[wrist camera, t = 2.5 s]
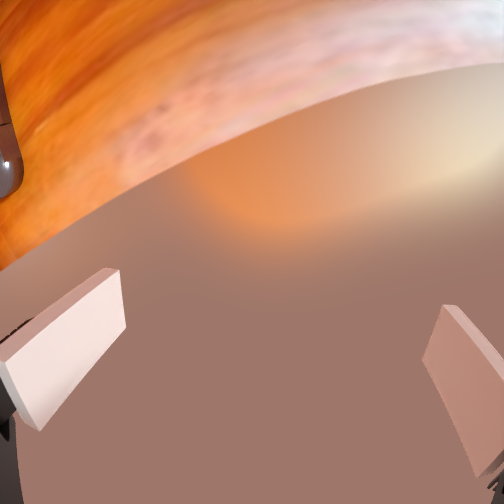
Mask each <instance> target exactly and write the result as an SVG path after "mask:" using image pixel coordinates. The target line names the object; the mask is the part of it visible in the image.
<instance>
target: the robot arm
mask: <svg viewBox="0 0 504 504" xmlns="http://www.w3.org/2000/svg"><path fill="white" fill-rule="evenodd" d="M125 328H126V324H125V317H124V309H123V301H122V293H121V284H120V272H119V270H118V269H111V268H105V267H104V268H102V269H101V270H100V271H98V272H97V273H95V274H94V275H92V276H91V277H89V278H88V279H87V280H85V281H84V282H82V283H81V284H80V285H78V286H77V287H75V288H74V289H72V290H71V291H70V292H68V293H67V294H65V295H64V296H63V297H62V298H60V299H59V300H57V301H56V302H54V303H53V304H52V305H50V306H49V307H48V308H46V309H45V310H44V311H42V312H41V313H40V314H39V315H37V316H36V317H33V318H31V319H29V320H27V321H25V322H24V323H23V324H21V325H20V326H19V327H18V328H17V329H15V330H14V331H12V332H11V333H10V335H7V336H6V337H5V338H4V339H2V340H1V341H0V504H24V502H23V497H22V491H21V484H20V477H19V469H18V460H17V448H16V432H15V431H16V430H15V420H14V417H13V415H12V414H13V413H14V412H15V411H16V410H17V411H18V413H19V415H20V417H21V418H22V420H23V422H25V423H26V424H28V425H29V426H31V427H33V428H35V429H36V430H38V431H41V429H42V428H43V427H44V426H45V424H46V423H47V422H48V421H49V419H50V418H51V417H52V416H53V414H54V413H55V412H56V410H57V409H58V408H59V407H60V405H61V404H62V403H63V402H64V400H65V399H66V398H67V397H68V396H69V394H70V393H71V392H72V391H73V389H74V388H75V387H76V385H77V384H78V383H79V382H80V381H81V380H82V378H83V377H84V376H85V375H86V374H87V372H88V371H89V370H90V369H91V367H92V366H93V365H94V364H95V363H96V362H97V361H98V359H99V358H100V357H101V356H102V354H104V352H105V351H106V350H107V349H108V348H109V346H110V345H111V344H112V343H113V342H114V341H115V340H116V338H117V337H118V336H119V335H120V334H121V332H123V330H124V329H125ZM422 361H423V363H424V365H425V367H426V369H427V371H428V372H429V374H430V376H431V378H432V380H433V382H434V384H435V386H436V388H437V390H438V392H439V394H440V396H441V398H442V400H443V402H444V404H445V406H446V408H447V410H448V413H449V415H450V417H451V419H452V421H453V423H454V426H455V428H456V430H457V432H458V435H459V437H460V439H461V441H462V444H463V446H464V449H465V451H466V453H467V455H468V458H469V461H470V463H471V466H472V468H473V471H474V474H475V476H476V478H480V477H483V476H485V475H488V474H491V473H493V472H494V471H495V470H496V469H497V467H499V466H500V465H501V464H502V462H503V461H504V359H503V358H502V357H501V356H500V355H499V353H498V352H497V351H496V350H495V348H494V347H493V346H492V345H491V344H490V342H489V341H488V340H487V339H486V338H485V337H484V335H483V334H482V333H481V332H480V331H479V330H478V329H477V327H476V326H475V325H474V324H473V323H472V322H471V321H470V320H469V318H467V316H466V315H465V314H464V313H463V312H462V311H461V310H460V309H459V308H458V307H457V306H456V305H442V308H441V311H440V314H439V317H438V320H437V322H436V325H435V328H434V330H433V333H432V335H431V338H430V341H429V343H428V346H427V348H426V351H425V353H424V355H423V358H422ZM496 482H498V484H497V486H496V487H495V488H494V489H493V491H495V494H494V497H493V500H492V503H491V504H504V470H503V471H502V472H501V473H500V474H499V475H498V476H497V477H496V478H495V479H494V480H493V481H492V482H491V483H490V484H489V486H488V487H487V488H488V489H490V488H491V487H492V486H493V485H494V484H495V483H496Z"/></svg>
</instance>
